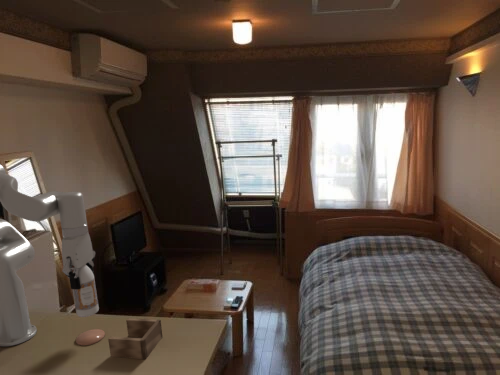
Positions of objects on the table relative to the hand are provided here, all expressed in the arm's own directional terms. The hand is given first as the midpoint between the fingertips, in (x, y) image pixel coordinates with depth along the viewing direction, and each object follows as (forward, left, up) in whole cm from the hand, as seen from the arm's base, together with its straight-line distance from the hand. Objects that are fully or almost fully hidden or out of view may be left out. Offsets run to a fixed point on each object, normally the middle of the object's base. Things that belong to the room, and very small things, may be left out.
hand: (83, 283), depth 135 cm
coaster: (0, 0, -19) cm, 19 cm away
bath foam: (0, 0, -10) cm, 10 cm away
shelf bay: (+18, -3, -19) cm, 27 cm away
